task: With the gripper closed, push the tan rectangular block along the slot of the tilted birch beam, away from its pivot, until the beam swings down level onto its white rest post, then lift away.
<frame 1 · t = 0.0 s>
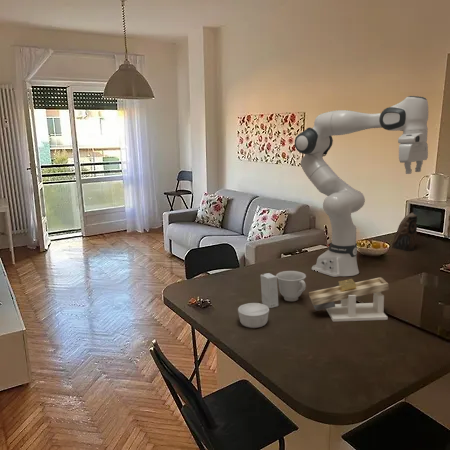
hand: (413, 172, 166), 48 cm above the kitchen counter, tool pointing down, fingers open, 8 cm apart
beam: (348, 294, 148), point 7 cm above the kitchen counter, hinge at -10.4°, touching tan rectangular block
teacup: (293, 300, 165), on the kitchen counter
pivot stand: (347, 313, 150), on the kitchen counter
skincare box: (269, 305, 161), on the kitchen counter
owl: (404, 248, 235), on the kitchen counter
ramekin: (253, 323, 146), on the kitchen counter
tan rectangular block: (348, 290, 148), point 9 cm above the kitchen counter, tilted 10°, touching beam
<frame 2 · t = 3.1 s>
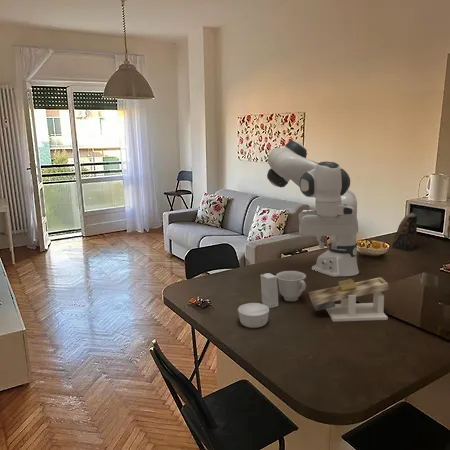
hand: (328, 247, 145), 25 cm above the kitchen counter, tool pointing down, fingers open, 3 cm apart
nothing on the kitchen counter moved.
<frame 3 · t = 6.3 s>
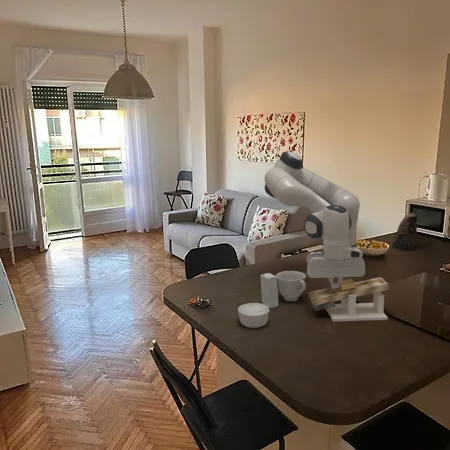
hand: (335, 288, 148), 10 cm above the kitchen counter, tool pointing down, fingers closed
tan rectangular block: (347, 291, 148), point 9 cm above the kitchen counter, tilted 10°, touching beam, gripper
everything else where it was.
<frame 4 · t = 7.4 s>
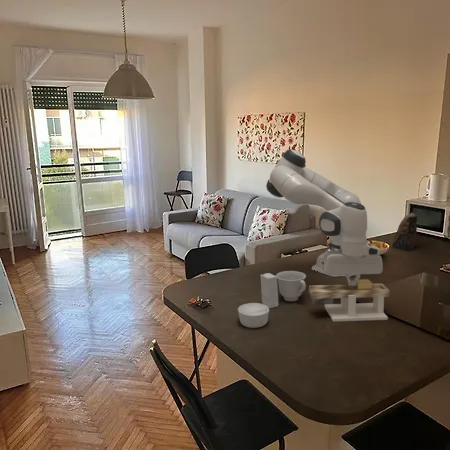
hand: (352, 285, 148), 11 cm above the kitchen counter, tool pointing down, fingers closed
beam: (348, 294, 148), point 7 cm above the kitchen counter, hinge at 0.5°, touching pivot stand, tan rectangular block
tan rectangular block: (363, 290, 148), point 9 cm above the kitchen counter, touching beam, gripper
everything else where it was.
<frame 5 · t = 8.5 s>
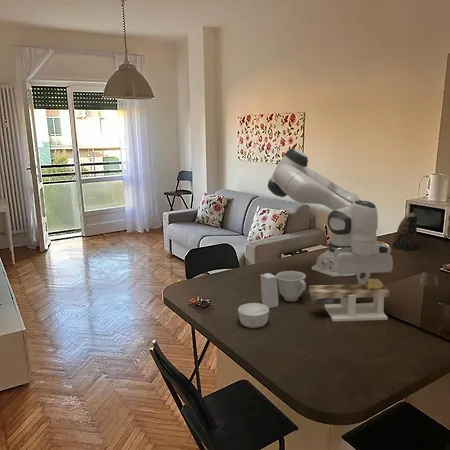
hand: (362, 284, 148), 11 cm above the kitchen counter, tool pointing down, fingers closed
tan rectangular block: (372, 289, 148), point 9 cm above the kitchen counter, tilted 6°, touching beam, gripper
everything else where it was.
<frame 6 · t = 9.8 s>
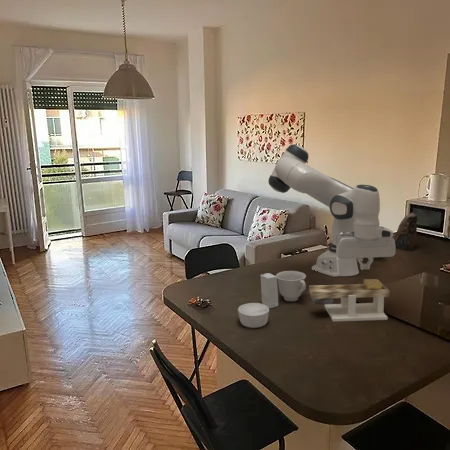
hand: (364, 269, 147), 17 cm above the kitchen counter, tool pointing down, fingers closed
tan rectangular block: (372, 290, 148), point 9 cm above the kitchen counter, touching beam
everything else where it was.
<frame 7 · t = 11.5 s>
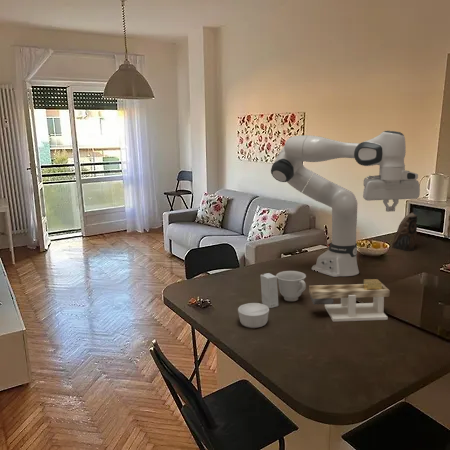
hand: (390, 211, 156), 35 cm above the kitchen counter, tool pointing down, fingers closed
nothing on the kitchen counter moved.
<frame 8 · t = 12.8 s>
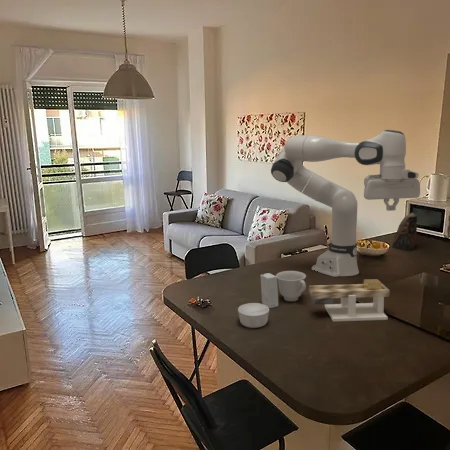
hand: (390, 210, 156), 35 cm above the kitchen counter, tool pointing down, fingers closed
nothing on the kitchen counter moved.
at the end: beam at +0° (first picture: -10°); tan rectangular block 0.4 cm from the target spot on the beam, point 0.5 cm above the beam's base; tan rectangular block touching beam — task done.
